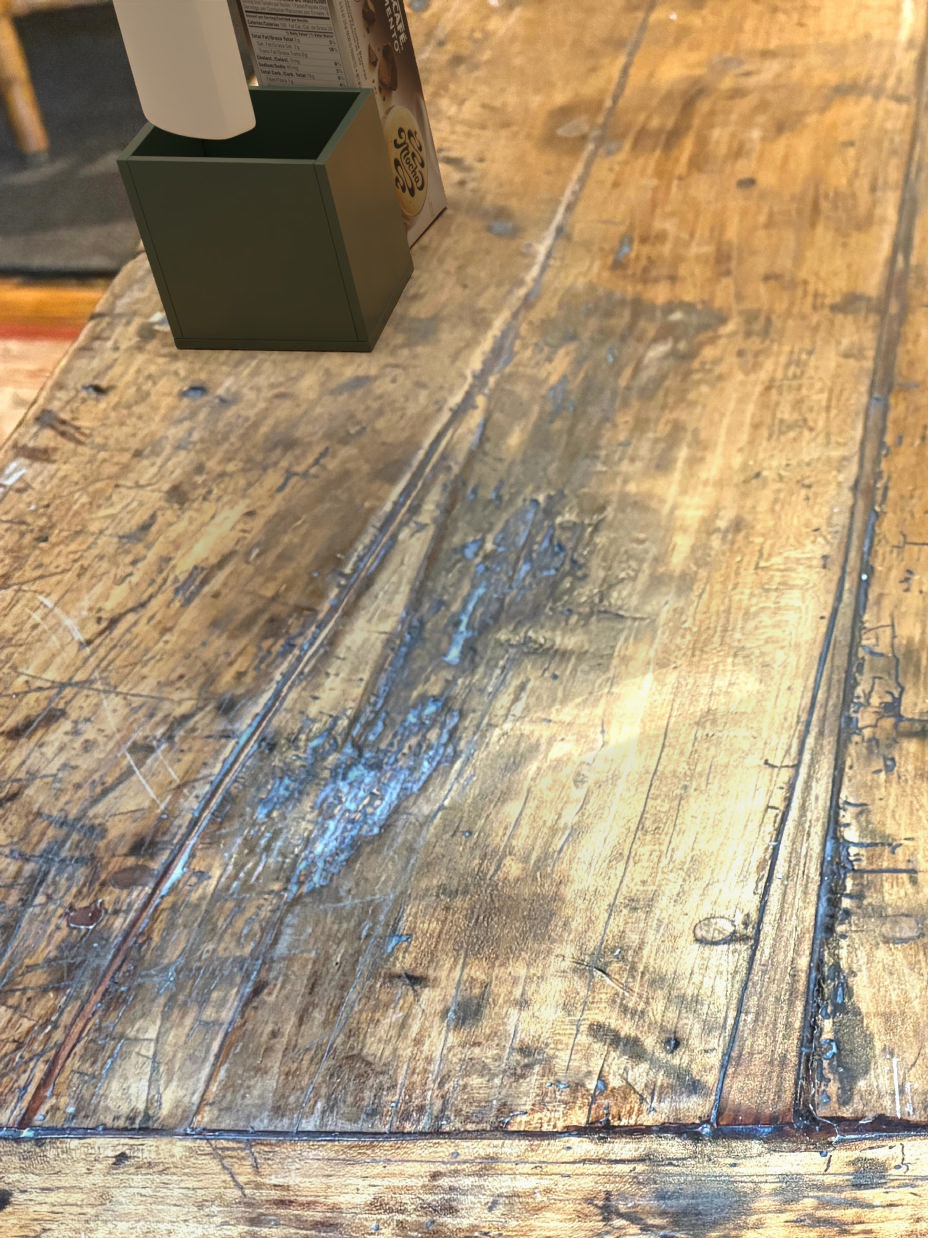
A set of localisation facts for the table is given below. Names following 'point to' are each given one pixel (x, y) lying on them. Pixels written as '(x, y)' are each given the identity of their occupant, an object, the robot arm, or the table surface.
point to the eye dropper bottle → (187, 66)
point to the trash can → (274, 224)
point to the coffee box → (355, 79)
